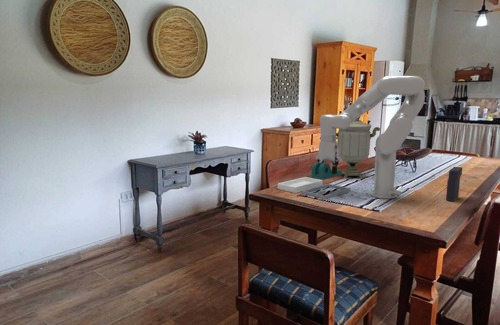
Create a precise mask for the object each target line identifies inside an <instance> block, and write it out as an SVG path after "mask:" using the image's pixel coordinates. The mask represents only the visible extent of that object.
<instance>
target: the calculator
mask: <svg viewBox="0 0 500 325" xmlns="http://www.w3.org/2000/svg"><path fill="white" fill-rule="evenodd" d="M462 175H463V167H461V166H453V167H452V168H450V169H449V170H448V176H447V178H448V179H447V182H446V183H447V184H446V194H445V195H446V196H445V200H446V201H447V202H455V201H457V199H458V198H459V196H460V195H459V193H460V183H461V181H460V180H461V176H462Z"/></svg>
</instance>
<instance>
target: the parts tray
mask: <svg viewBox="0 0 500 325" xmlns="http://www.w3.org/2000/svg"><path fill="white" fill-rule="evenodd" d="M323 182H324V180H319V179H313V178H312V177H307V176H303V177H300V178H295V179H291V180H286V181H283V182H278V183H277V189H278V190H281V191H283V192H284V191H285V192H289V193H294V194H297V193H299V192H301V193H302V191H303V190H307V189H311V188H314V187H318V186H322V185H324V184H323Z"/></svg>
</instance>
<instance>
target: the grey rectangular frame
mask: <svg viewBox="0 0 500 325" xmlns="http://www.w3.org/2000/svg"><path fill="white" fill-rule="evenodd" d="M326 188H332V189H337V190H339V191H335V192H331V193H328V194H325V195H322V194H318V193H314V191H318V190H322V189H326ZM351 190H352V188H350V187H345V186H341V185H336V184H331V183H326V184H323V185H322V186H318V187H314V188H311V189H307V190H303V191H301V194H302V195H305V196H310V197H313V198H318V199H323V200H326V199H329V198H333V197H336V196H339V195H343V194H345V193H349V192H351Z"/></svg>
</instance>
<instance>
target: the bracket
mask: <svg viewBox="0 0 500 325" xmlns="http://www.w3.org/2000/svg"><path fill="white" fill-rule="evenodd" d="M342 173H343V170H342V169H338V168H337V173H336V174H332V166H331V165H330V164H329V163H325V162H324V163H319V162H318V161H316V162H314V163H313V164H312V166H311V178H313V179H318V180H323V181H325V180H327V179H331V178H336V177H339V176H342V175H343V174H342Z"/></svg>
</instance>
